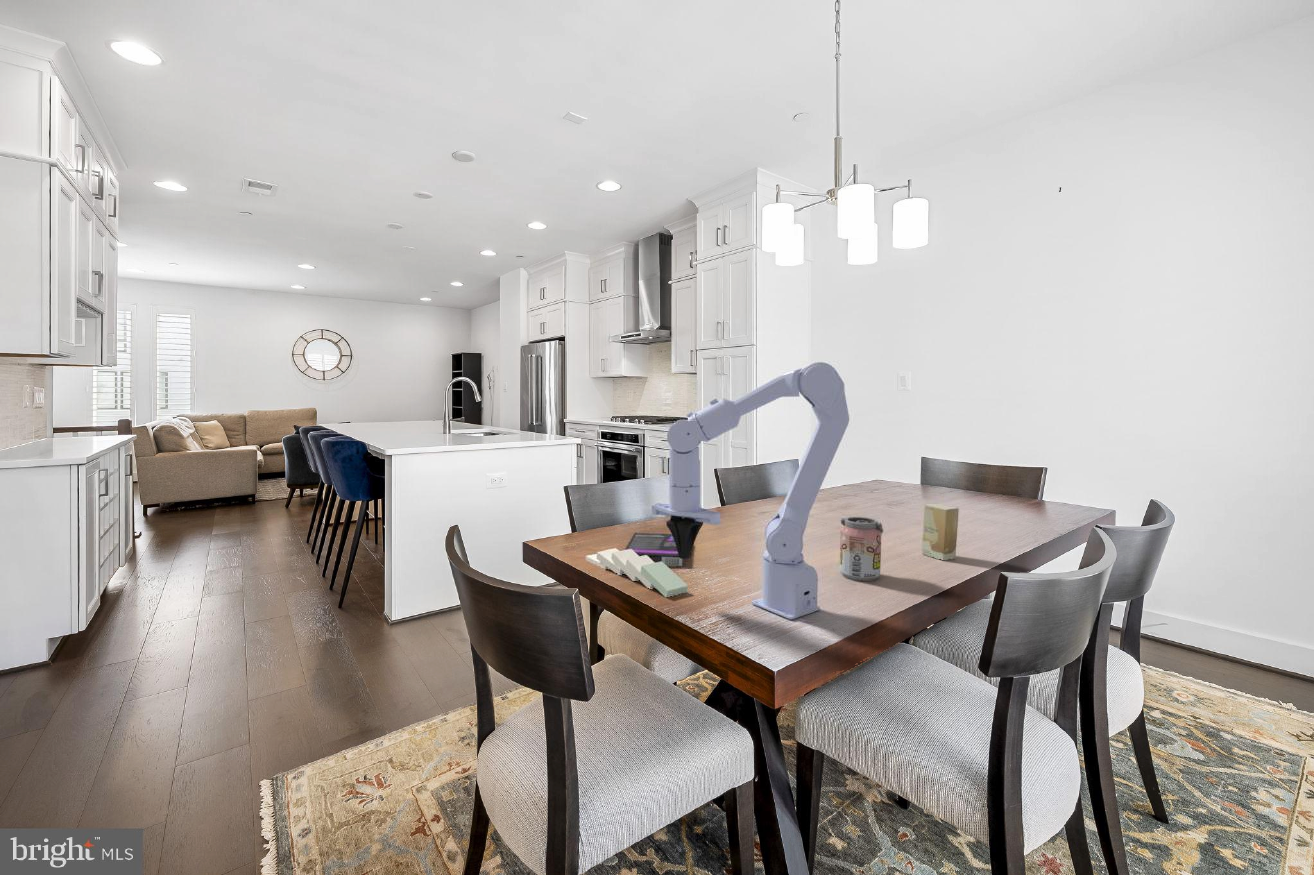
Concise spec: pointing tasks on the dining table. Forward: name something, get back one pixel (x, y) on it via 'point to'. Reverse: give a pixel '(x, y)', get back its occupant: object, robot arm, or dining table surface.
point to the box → (656, 548)
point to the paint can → (860, 548)
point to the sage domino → (664, 579)
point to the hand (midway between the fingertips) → (684, 557)
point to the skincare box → (940, 531)
